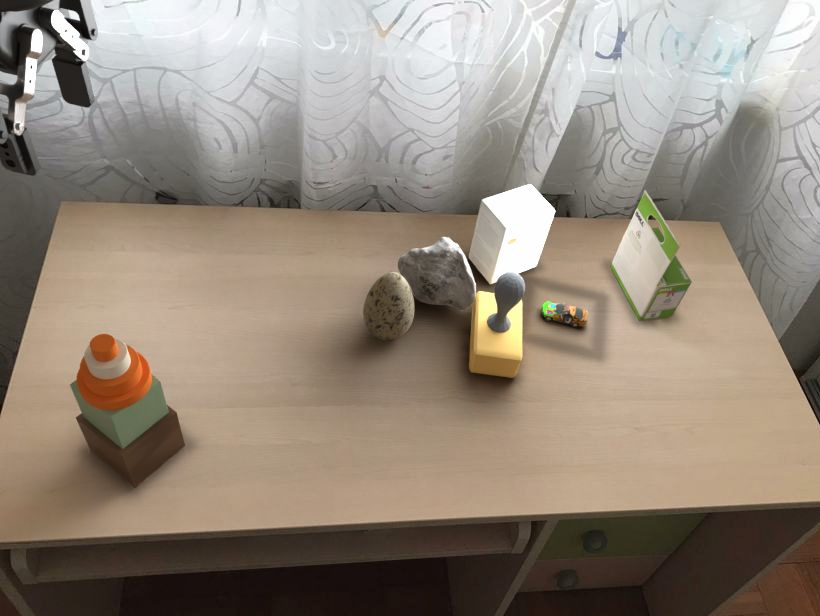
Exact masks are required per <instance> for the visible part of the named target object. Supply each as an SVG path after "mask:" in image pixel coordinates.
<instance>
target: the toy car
mask: <svg viewBox="0 0 820 616" xmlns="http://www.w3.org/2000/svg"><path fill="white" fill-rule="evenodd" d="M540 315H541V318H542V319H543V320H544V321H547V322H550V323H551V322H552V323H557V324H560V325H564V326H569V327H571V328H576V329H581V328H582V329H583V328H584V327H585V326H586V324H587V323H588V310H587V309H583V308H580V307H578V306H575V305H573V304H568V303H564V302H562V303H560V302H554V301H546V302H544V303H543V304H542V305H541V310H540Z"/></svg>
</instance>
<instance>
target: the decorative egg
mask: <svg viewBox="0 0 820 616" xmlns="http://www.w3.org/2000/svg"><path fill="white" fill-rule="evenodd" d="M362 314H363V315H362V317H363V322H364V325H365V327H366V328H367V330H368V332H369V333H370V334H371V335H372V336H373V337H375V338H376V339H379V340H382V341H393V340H397V339H400V338H401V337H402V336H404V335H405V334H406V333H407V332H408V331H409V330H410V328H411V326H412V324H413V321H414V317H415V300H414V294H413V291H412V289H411V287H410V286H409V284H408V282H407V281H406V279H405V278H404V277H403V276H402V275H401V273H398V272H395V271H389V272H386V273H384V274H382V275H381V276H379V277H378V278H377V279H376V280H375V281H374V282H373V284H372V285H371V287H370V289H369V291H367V294H366V297H365V299H364V303H363V308H362Z"/></svg>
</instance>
